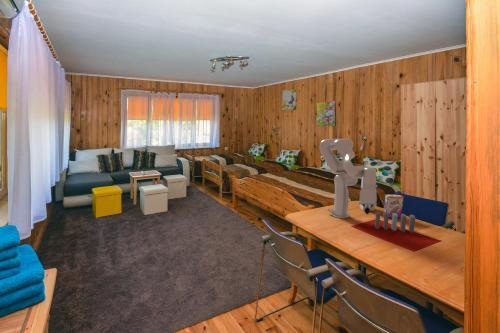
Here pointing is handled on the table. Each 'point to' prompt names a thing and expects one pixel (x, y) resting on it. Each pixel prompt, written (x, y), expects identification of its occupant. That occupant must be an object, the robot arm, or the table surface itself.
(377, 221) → the domino
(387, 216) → the domino
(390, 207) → the candy bar box
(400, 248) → the table surface
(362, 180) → the box
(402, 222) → the domino
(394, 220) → the domino
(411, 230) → the domino
